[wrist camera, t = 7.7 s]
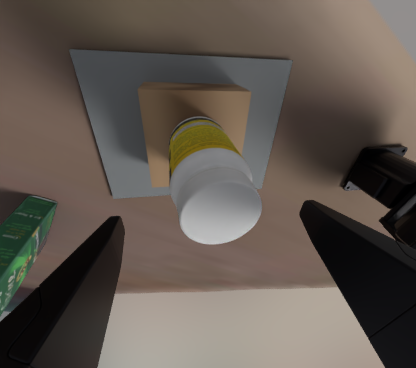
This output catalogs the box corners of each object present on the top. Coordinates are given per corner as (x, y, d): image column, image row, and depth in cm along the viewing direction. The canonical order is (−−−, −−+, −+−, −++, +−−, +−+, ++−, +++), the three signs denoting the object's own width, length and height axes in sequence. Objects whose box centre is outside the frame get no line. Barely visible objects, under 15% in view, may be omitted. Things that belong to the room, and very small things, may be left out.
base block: (235, 84, 17) (251, 91, 14) (227, 162, 22) (237, 182, 19) (143, 81, 16) (137, 89, 13) (154, 166, 20) (152, 187, 17)
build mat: (290, 60, 17) (292, 60, 17) (260, 186, 25) (261, 188, 25) (71, 49, 14) (68, 49, 14) (114, 196, 22) (113, 198, 22)
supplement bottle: (156, 133, 15) (147, 205, 8) (211, 103, 14) (253, 151, 7) (187, 179, 17) (199, 261, 10) (234, 155, 17) (280, 225, 10)
